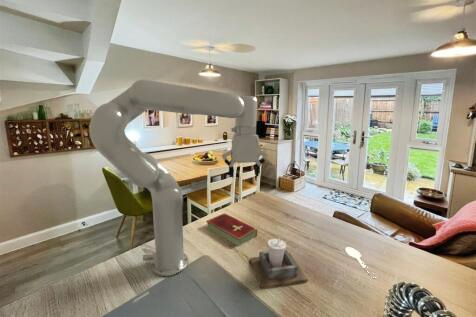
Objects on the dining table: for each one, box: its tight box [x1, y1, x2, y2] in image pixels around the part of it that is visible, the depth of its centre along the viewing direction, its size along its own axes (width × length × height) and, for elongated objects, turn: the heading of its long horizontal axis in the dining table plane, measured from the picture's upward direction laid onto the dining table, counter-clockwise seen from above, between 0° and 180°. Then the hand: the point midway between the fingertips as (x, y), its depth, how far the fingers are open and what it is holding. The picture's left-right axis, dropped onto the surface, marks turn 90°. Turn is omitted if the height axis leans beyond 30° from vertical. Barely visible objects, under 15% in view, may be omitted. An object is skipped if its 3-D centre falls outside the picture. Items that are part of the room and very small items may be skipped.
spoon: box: [344, 246, 377, 279], centre depth 89 cm, size 5×18×1 cm, turn 3°
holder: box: [249, 248, 309, 289], centre depth 82 cm, size 16×14×4 cm
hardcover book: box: [205, 212, 258, 247], centre depth 107 cm, size 12×21×4 cm, turn 46°
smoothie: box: [266, 232, 287, 268], centre depth 81 cm, size 6×6×14 cm
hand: (244, 175), depth 89 cm, fingers open, 9 cm apart
